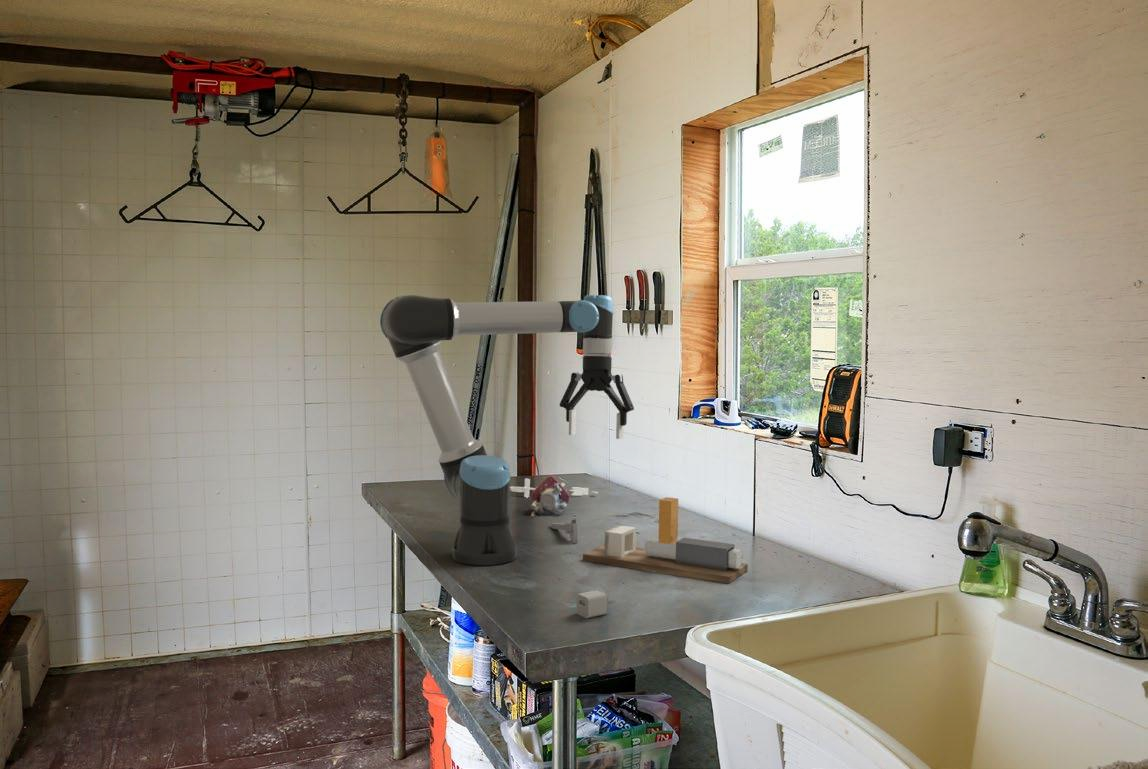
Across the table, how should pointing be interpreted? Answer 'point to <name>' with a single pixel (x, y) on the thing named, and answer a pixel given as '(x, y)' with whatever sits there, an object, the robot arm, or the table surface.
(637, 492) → the table surface
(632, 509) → the table surface
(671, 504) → the stacked block assembly
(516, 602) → the table surface
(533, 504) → the brake caliper
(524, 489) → the miniature set
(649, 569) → the base board
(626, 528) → the socket block
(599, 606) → the usb wall charger
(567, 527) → the caliper
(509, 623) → the table surface
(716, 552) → the outer sleeve
